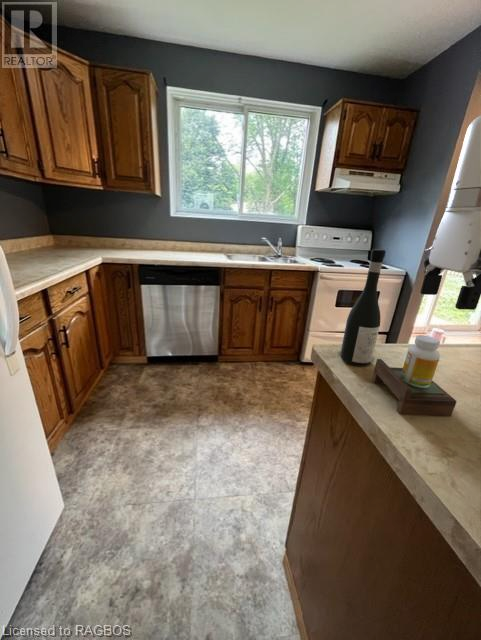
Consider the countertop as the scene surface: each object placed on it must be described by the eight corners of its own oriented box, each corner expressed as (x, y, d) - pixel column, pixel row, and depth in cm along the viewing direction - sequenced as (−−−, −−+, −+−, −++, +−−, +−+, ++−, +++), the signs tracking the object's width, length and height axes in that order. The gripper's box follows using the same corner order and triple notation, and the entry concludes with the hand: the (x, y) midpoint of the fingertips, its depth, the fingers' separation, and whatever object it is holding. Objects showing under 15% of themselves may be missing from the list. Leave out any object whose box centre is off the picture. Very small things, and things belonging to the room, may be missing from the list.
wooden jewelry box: (412, 386, 64) (420, 360, 62) (448, 422, 53) (460, 392, 50) (370, 385, 64) (377, 358, 61) (397, 420, 53) (407, 389, 50)
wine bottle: (377, 364, 73) (405, 251, 63) (356, 370, 70) (382, 251, 60) (353, 352, 80) (376, 247, 70) (333, 356, 77) (353, 247, 66)
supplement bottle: (436, 386, 55) (451, 342, 52) (418, 391, 53) (432, 346, 50) (411, 372, 60) (424, 332, 56) (394, 376, 58) (406, 335, 54)
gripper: (553, 199, 37) (506, 317, 43) (458, 205, 53) (434, 290, 59) (498, 197, 37) (459, 315, 43) (420, 204, 53) (400, 289, 59)
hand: (445, 300), depth 51 cm, fingers open, 9 cm apart
